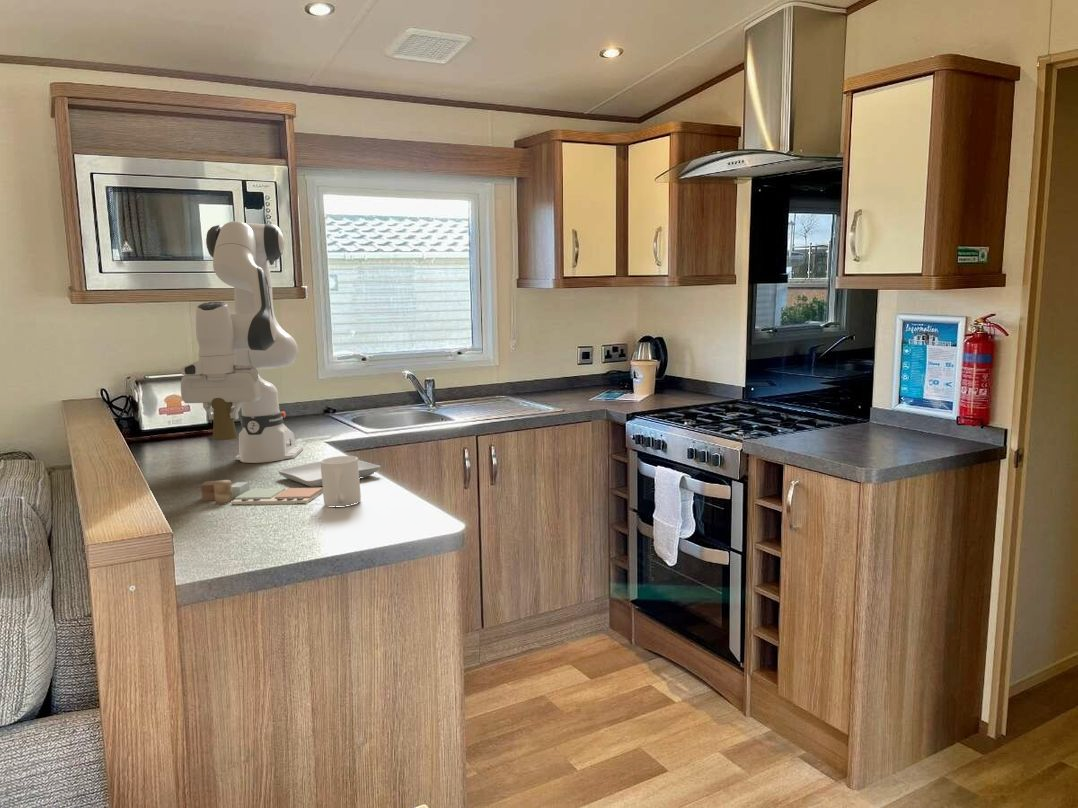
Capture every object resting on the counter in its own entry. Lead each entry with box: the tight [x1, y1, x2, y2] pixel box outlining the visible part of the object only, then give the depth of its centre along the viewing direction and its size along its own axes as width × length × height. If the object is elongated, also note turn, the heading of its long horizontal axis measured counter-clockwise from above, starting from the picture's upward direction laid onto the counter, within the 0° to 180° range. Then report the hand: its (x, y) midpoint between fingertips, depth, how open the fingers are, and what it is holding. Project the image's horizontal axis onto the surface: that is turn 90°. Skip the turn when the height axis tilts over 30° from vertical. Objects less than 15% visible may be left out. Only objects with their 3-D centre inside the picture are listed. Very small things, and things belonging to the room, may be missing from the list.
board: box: [230, 487, 323, 505], centre depth 198 cm, size 11×19×1 cm, turn 84°
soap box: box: [231, 481, 250, 499], centre depth 203 cm, size 5×3×3 cm, turn 174°
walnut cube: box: [200, 480, 217, 502], centre depth 202 cm, size 4×4×4 cm
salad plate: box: [277, 459, 381, 488], centre depth 218 cm, size 21×21×3 cm
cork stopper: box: [213, 479, 234, 505], centre depth 197 cm, size 4×4×5 cm
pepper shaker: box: [211, 398, 238, 441], centre depth 206 cm, size 6×6×11 cm
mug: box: [319, 455, 362, 507], centre depth 188 cm, size 9×12×11 cm
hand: (223, 419), depth 206 cm, fingers closed on pepper shaker, 4 cm apart
